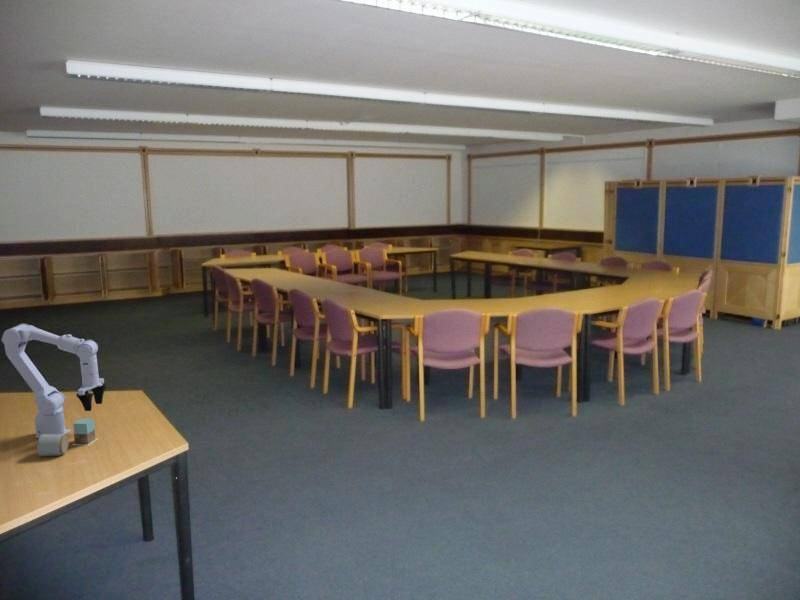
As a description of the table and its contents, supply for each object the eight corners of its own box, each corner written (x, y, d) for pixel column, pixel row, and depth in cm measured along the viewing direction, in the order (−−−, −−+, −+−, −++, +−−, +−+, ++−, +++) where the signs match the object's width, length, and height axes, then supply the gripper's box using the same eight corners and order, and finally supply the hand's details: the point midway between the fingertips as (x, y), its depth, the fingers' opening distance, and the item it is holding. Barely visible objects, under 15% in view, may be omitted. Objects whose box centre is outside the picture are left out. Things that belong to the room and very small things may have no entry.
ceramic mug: (62, 458, 222) (60, 437, 220) (37, 460, 221) (35, 439, 219) (73, 446, 232) (71, 426, 231) (49, 448, 231) (47, 428, 230)
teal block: (74, 433, 232) (73, 423, 232) (82, 428, 237) (81, 418, 237) (87, 434, 232) (86, 423, 231) (94, 429, 237) (93, 418, 236)
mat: (61, 446, 231) (61, 446, 231) (75, 437, 240) (75, 436, 240) (87, 447, 231) (87, 446, 231) (100, 437, 240) (100, 437, 240)
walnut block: (74, 444, 233) (73, 433, 232) (82, 438, 238) (81, 428, 237) (88, 444, 233) (87, 434, 232) (95, 439, 238) (94, 428, 237)
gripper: (89, 378, 233) (93, 413, 235) (110, 367, 247) (113, 400, 249) (71, 378, 233) (75, 413, 236) (92, 367, 247) (96, 400, 250)
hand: (93, 407), depth 242 cm, fingers open, 7 cm apart
